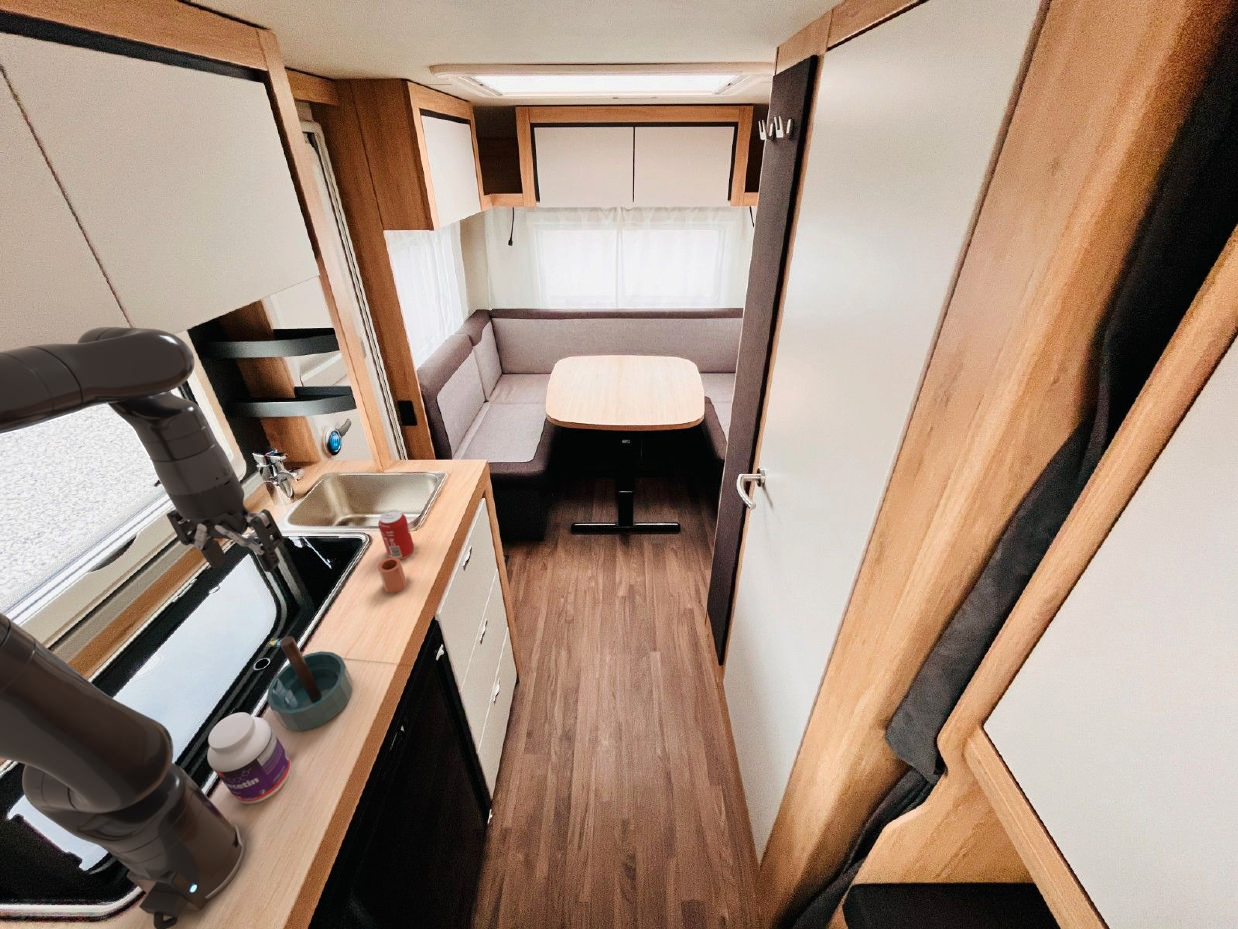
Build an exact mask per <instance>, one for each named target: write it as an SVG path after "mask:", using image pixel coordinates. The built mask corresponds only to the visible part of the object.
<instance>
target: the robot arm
mask: <svg viewBox="0 0 1238 929" xmlns="http://www.w3.org/2000/svg"><path fill="white" fill-rule="evenodd" d="M194 369H195V355H194V353H193V351H192V350H191V348H190V346H189V345H188V344H187V343H186V342H185V341H184V340H183V339H181V338H180V337H179V336H177V335H175V334H173V333H171V332H168V331H166V330H163V329H157V328H143V327H119V326H118V327H117V326H101V327H95V328H92V329H91V328H90V329H89V330H87V331H85V332H84V333H83V334H81V335H80V336H79V338H78V340H77V342H76V343H42V344H34V345H27V346H22V347H16V348H12V349H7V350H2V351H0V435H4V434H8V433H12V432H13V433H14V432H17V431H21V430H25V429H28V428H31V427H35V426H38V425H41V424H44V423H48V422H50V421H54V420H57V419H61V418H64V417H67V416H70V415H73V414H75V413H76V414H77V413H78V412H81V411H84V410H86V409H89V408H93V407H97V406H102V405H107V406H109V408H111V410H112V411H114V413H115V414H116V415H117V416H119V417H120V418H121V419H122V420H123V421H124V422H125V423H126V424H128V426H129V427H130V428H132V430H133V431H134V433H135V435H136V437H137V439H138V441H139V442H140V444H141V446H142V447H143V450H144V451H145V453H146V454H147V456H148V458H149V460H150V463H151V465H152V467H153V468H152V469H153V470H154V472H155V473H154V474H155V475H156V477H157V478H158V480H159V482H160V484H161V485H162V487H163V489H164V491H165V492H166V494H167V496H168V497H169V500H170V501H171V503H172V504H173V506H174V508H172V510H170V511H168V513H166V517H167V519H168V521H169V523H170V525H171V527H172V529H173V530H174V532H175V534H176V535H177V538H178V539H179V541H180V544H182V545H183V546H189V545H193V547H194V548H195V549H196V550H198V551H200V552H201V554H202V555H203V557H204V558H205V560H206V562H207V563H208V564H209V566H210V567H211V568H219V567H221V565H223V564H224V563H225V562H226V561H227V555H226V553H225V552H224V550H223V548H222V546H221V544H220V542H219V541H218V540H221V539H226V540H229V541H233V542H235V543H236V544H237V545H239V546H240V547H248V548H249V549H250V550H251V551H252V552H254V553H256V554H255V556H256V558H257V560H258V561H259V563H260V566H261V568H262V569H263V572H265V573H272V572H273V571H274V570H275V569H276V568H277V567H278V566H279V564H280V558H279V556H278V554H277V551H276V549H277V548H278V547H279V546H281V544H282V543H283V542H285V537H284V536H283V534H282V531H281V530H280V528H279V526H278V525H277V522H276V521H275V519H274V517H273V515H272V513H271V511H270V510H269V509H266V508H263V509H262V510H261V511H260V512H251V511H250V510H249V509H248V508H247V507H246V506H245V503H244V501H245V500H244V499H245V490H244V489H243V486H242V484H241V482H240V480H239V478H238V476H237V474H236V472H235V469H234V467H233V466H232V463H231V462H230V459H229V458H228V455H227V454H226V451H225V450H224V449H223V447H222V446H221V445H220V443H219V441H218V439H217V437H216V436H215V434H214V431H213V430H212V428H211V426H210V423H209V422H208V418H207V417H206V416H205V413H204V412H203V410H202V409H201V407H200V406H199V405H198V404H197V403H196V402H194V401H192V400H189V399H186V398H183V397H180V396H178V395H176V394H173V393H171V392H170V391H173V390H175V389H178V388H179V387H180V386H183V385H184V383H186V382H187V380H189V379H190V377H191V376H192V375H193V371H194ZM248 528H249V529H250V530H251V533H250V534H248V535H247V536H243V535H244V534H245V533H246V532H247V531H248ZM188 530H190V532H189V533H188V532H187V531H188ZM255 538H257V539H258V540H259V541H260V544H259V543H257V542H256V541H255V540H254V539H255ZM173 758H174V742H173V738H172V736H171V733H170V732H169V730H168V728H166V726H165V725H163V723H161V722H160V721H158V720H155V719H153V718H151V717H150V716H147V715H145V714H143V713H142V712H139V711H137V710H135V709H133V708H132V707H129V706H127V705H126V704H124V703H122V702H119V701H118V700H116V699H114V698H113V697H111V696H109V695H108V694H106V693H105V692H103V691H102V690H101V689H100V688H98V686H95V685H94V684H93V683H92V682H91V681H90V680H88V678H86V677H85V676H84V675H83V674H81V673H80V672H79V671H77V670H76V669H75V668H73V667H72V666H71V665H69V663H67V662H66V661H64V660H63V659H62V658H60V657H59V656H58V655H57V654H55V653H54V652H52V651H51V650H50V649H49V648H47V647H46V646H45V645H44V644H43V643H41V642H40V641H39V640H38V639H37V638H36V637H35V636H33V635H32V634H31V633H29V632H28V631H27V630H26V629H24V628H23V627H21V626H20V625H18V624H17V623H16V622H15V621H13V620H12V619H11V618H10V617H8V616H7V615H5V614H4V613H2V612H1V611H0V759H2V760H6V761H12V762H16V763H18V764H19V763H20V764H23V765H24V768H23V772H22V776H21V777H22V778H21V785H22V786H21V787H22V791H23V794H24V796H25V798H26V800H27V802H28V803H29V804H30V805H31V806H32V807H33V808H34V809H35V810H36V811H38V812H39V813H40V814H42V815H43V816H44V817H46V818H48V819H49V820H50V821H52V822H53V823H55V824H56V825H58V826H59V827H60V828H62V829H64V830H65V831H66V832H67V833H69V834H71V835H72V836H74V837H76V838H78V839H80V840H82V841H86V842H89V843H91V844H94V845H97V846H99V847H101V848H102V849H103V850H104V851H106V852H107V853H109V854H110V855H111V856H112V857H114V858H115V859H116V860H117V861H119V862H120V863H121V864H122V865H123V866H125V867H126V868H127V869H129V871H128V872H127V874H126V878H127V879H128V880H130V882H132V883H133V884H134V885H136V886H137V887H139V888H140V889H141V890H142V891H144V892H145V893H146V896H145V897H144V899H143V900H142V902H141V903H140V904H139V906H138V908H139V909H141V910H142V911H144V912H145V913H146V914H148V915H149V914H150V915H153V926H154V929H169V928H171V927H174V926H175V925H176V924H177V923H178V921H179V918H180V917H181V916H182V914H183V912H184V911H185V909H188V910H195V911H202V910H203V909H204V908H205V906H206V904H207V903H208V902H209V901H210V900H211V899H212V898H214V897H215V896H217V895H218V894H219V893H220V892H222V890H223V889H224V888H225V887H227V885H228V884H229V883H231V881H232V880H233V878H234V877H235V875H236V874H237V873H238V871H239V869H240V867H241V866H242V864H243V861H244V859H245V855H246V849H247V847H246V846H247V844H246V839H245V837H244V835H243V834H242V833H241V832H240V829H239V826H238V825H237V824H236V823H234V825H233V824H232V823H231V822H230V821H229V819H227V818H226V816H225V815H224V814H223V813H222V812H221V811H220V810H219V809H218V807H217V806H216V805H215V804H214V803H213V802H212V800H211V799H210V798H209V797H208V796H207V794H205V793H204V791H203V790H202V789H201V787H200V786H198V784H197V783H196V782H195V781H194V780H193V779H192V778H191V776H190V775H189V774H188V773H187V772H186V771H185V769H183V768H182V767H181V766H180V765H179V764H176V763H174V762H173ZM164 917H169V918H168V919H166V920H165V918H164Z"/></svg>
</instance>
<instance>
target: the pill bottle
mask: <svg viewBox="0 0 1238 929" xmlns="http://www.w3.org/2000/svg"><path fill="white" fill-rule="evenodd" d="M207 738H208V739H207V742H208V745H209V747H208V750H207V755H206V756H207V762H208V765H209V766H210V768H211V769H212V770H213V771H214V773H215V774H216V775H217V777H219V779H220V780H221V782H222V783H223V784H224V785H225V786H226V788H227V789H228V790H229V791H230V793H231V794H232V795H233V797H234V798H235V799H236V800H237V801H238V802H240V803H242V804H249V805H251V804H257V803H260V802H262V801H265V800H267V799H268V798H270V797H272V796H273V795H274V794H276V793H277V792H278V791H279V790H280V789H281V788H282V787H283V786H284V784H285V783H286V782H287V780H288V779H289V775H290V773H291V770H292V760H291V757H290V756H289V754H288V752H287V750H286V749H285V748H284V747H283V745H282V743H281V741H280V740H279V738H278V736H277V735H276V733H275V732H274V730H273V729H272V727H271V725H270V724H269V722H268V721H267V720H266V719H264V718H262V717H258V716H252V715H251V714H249V713H247V712H245V711H244V712H242V711H241V712H235V713H232V714H230V715H227V716H225V717H224V718H223V719H221V720H220V721H219V722H217V723H216V725H215V726H213V727H212V729H211V731H210V732H209V735H208V737H207Z"/></svg>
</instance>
